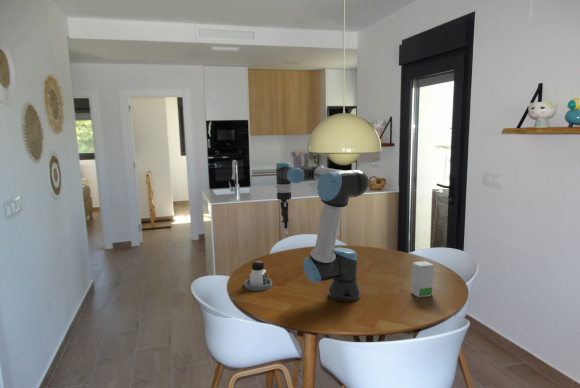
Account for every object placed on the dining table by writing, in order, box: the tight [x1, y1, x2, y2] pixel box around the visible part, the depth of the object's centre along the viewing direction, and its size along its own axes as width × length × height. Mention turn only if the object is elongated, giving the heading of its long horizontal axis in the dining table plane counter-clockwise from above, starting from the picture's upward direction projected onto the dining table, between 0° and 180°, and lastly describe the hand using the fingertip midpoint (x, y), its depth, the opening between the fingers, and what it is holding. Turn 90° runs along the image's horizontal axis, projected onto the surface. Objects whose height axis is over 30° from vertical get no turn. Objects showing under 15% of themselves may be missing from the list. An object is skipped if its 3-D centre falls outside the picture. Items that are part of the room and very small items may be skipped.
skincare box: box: [410, 261, 435, 298], centre depth 194 cm, size 8×7×16 cm
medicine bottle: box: [249, 260, 268, 286], centre depth 208 cm, size 7×7×12 cm
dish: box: [244, 277, 273, 292], centre depth 209 cm, size 14×14×2 cm
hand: (285, 231), depth 215 cm, fingers open, 13 cm apart
